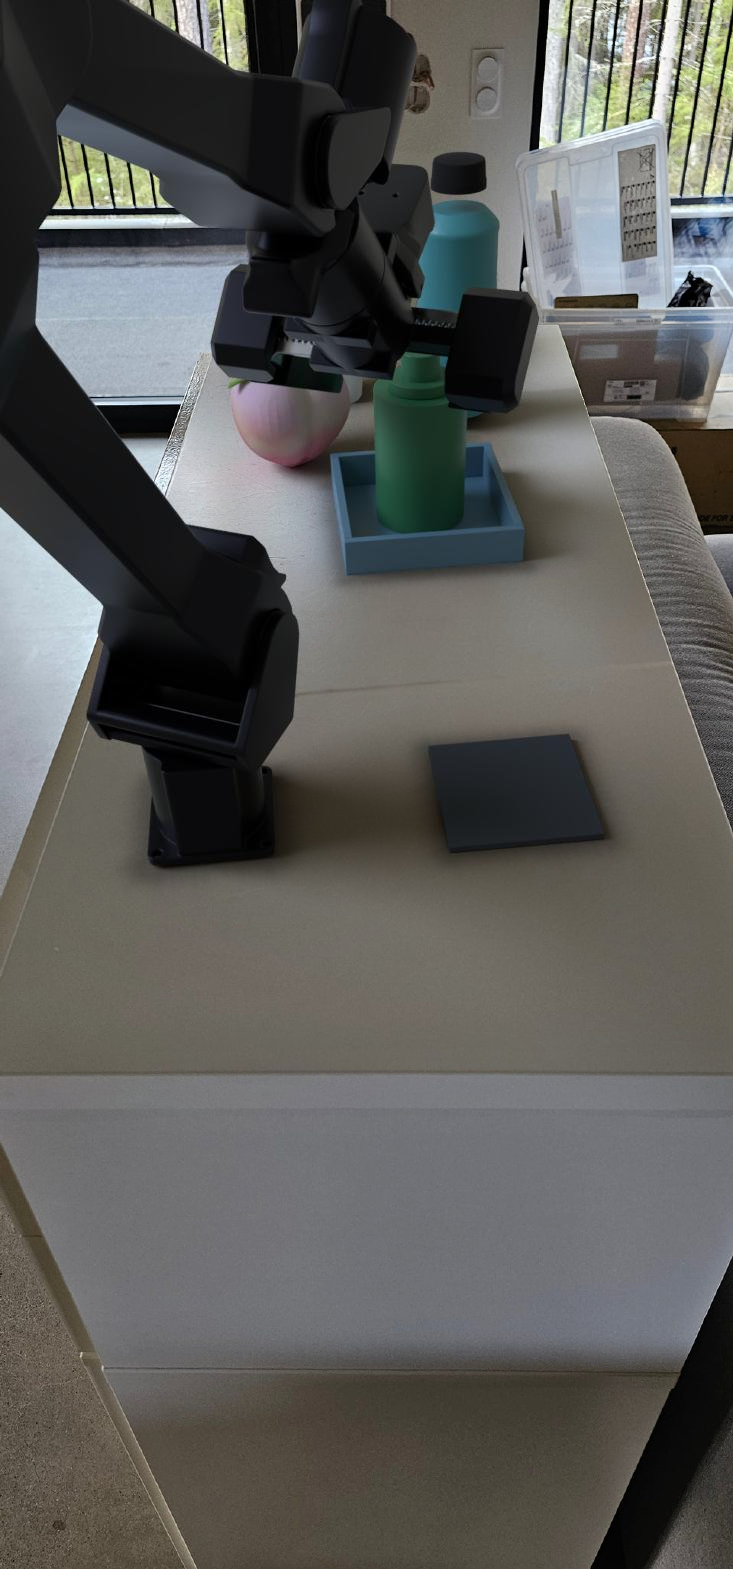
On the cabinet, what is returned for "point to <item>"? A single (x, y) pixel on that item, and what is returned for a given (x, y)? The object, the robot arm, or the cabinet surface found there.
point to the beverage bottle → (458, 237)
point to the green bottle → (418, 449)
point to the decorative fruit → (287, 420)
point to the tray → (476, 540)
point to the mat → (513, 793)
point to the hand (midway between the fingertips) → (404, 394)
